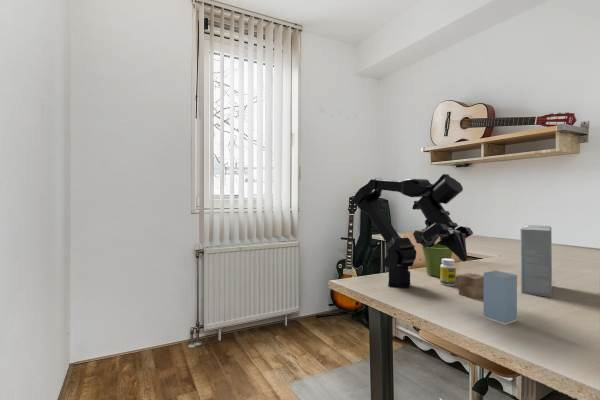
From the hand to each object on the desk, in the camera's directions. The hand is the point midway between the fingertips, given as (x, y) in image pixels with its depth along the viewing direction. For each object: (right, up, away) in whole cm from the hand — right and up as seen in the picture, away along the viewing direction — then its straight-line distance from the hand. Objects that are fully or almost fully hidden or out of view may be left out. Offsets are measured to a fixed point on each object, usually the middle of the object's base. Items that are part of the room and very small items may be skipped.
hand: (465, 260), depth 82 cm
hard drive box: (+31, -12, +16) cm, 37 cm away
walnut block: (+7, -12, +10) cm, 17 cm away
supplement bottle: (+6, -13, +22) cm, 26 cm away
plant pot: (+8, -12, +34) cm, 37 cm away
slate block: (+4, -13, -8) cm, 15 cm away
